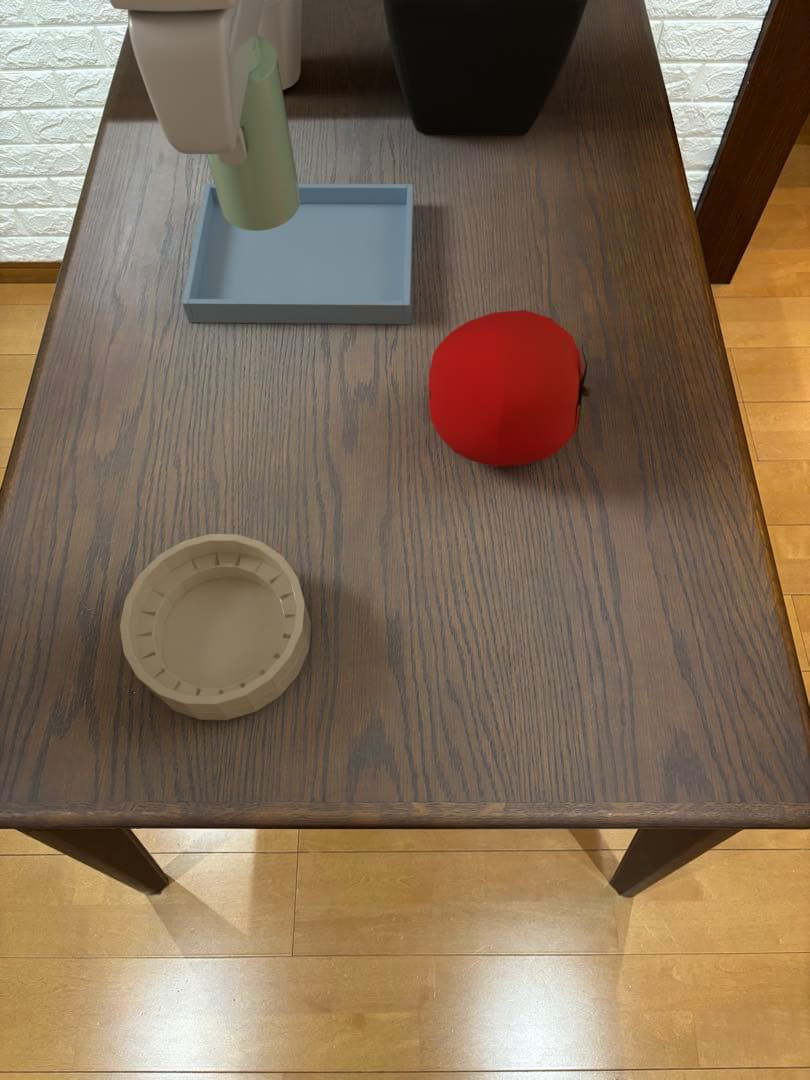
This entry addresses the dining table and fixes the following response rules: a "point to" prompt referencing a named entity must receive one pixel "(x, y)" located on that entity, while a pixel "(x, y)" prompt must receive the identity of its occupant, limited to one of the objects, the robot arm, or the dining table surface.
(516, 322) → the tomato
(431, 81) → the flower pot
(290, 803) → the dining table surface
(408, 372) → the dining table surface
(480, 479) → the dining table surface
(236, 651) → the bowl
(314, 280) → the tray
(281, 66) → the cup
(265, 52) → the bottle
